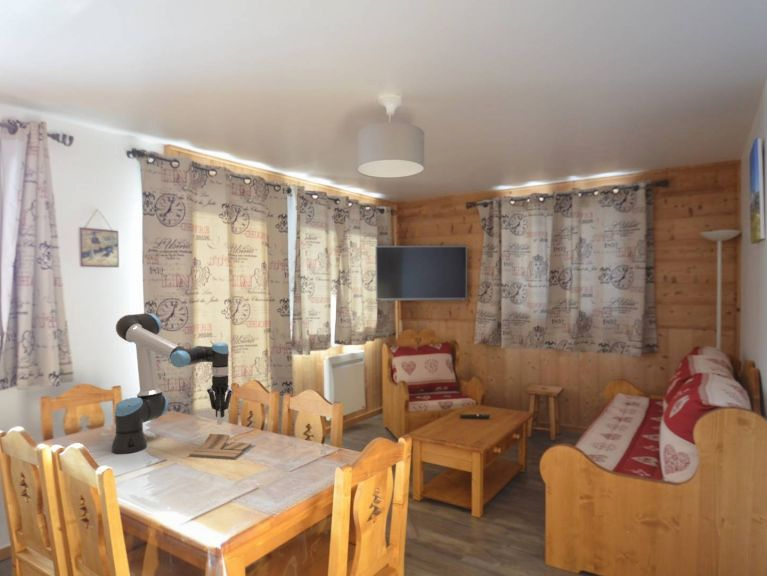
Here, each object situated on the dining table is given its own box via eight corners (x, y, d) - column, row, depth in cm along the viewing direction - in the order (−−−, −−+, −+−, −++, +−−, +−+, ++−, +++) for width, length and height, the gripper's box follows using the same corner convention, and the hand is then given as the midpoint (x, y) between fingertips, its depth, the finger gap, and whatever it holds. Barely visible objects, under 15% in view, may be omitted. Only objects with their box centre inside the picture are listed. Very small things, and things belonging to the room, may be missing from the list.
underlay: (186, 459, 219) (186, 453, 219) (210, 444, 239) (210, 439, 239) (235, 462, 215) (235, 457, 215) (256, 447, 234) (255, 442, 234)
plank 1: (201, 449, 228) (201, 447, 228) (210, 435, 236) (210, 433, 236) (221, 451, 226) (220, 449, 226) (229, 436, 234) (229, 434, 234)
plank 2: (222, 451, 226) (222, 448, 226) (232, 444, 235) (231, 442, 235) (242, 452, 224) (242, 449, 224) (251, 445, 233) (251, 443, 233)
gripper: (203, 375, 231) (203, 425, 232) (228, 377, 229) (228, 426, 229) (212, 373, 239) (211, 420, 239) (236, 374, 236) (236, 422, 237)
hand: (220, 423), depth 234 cm, fingers closed
